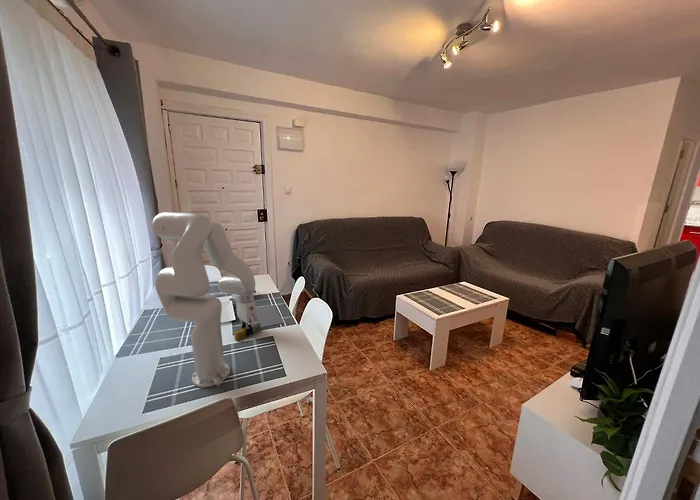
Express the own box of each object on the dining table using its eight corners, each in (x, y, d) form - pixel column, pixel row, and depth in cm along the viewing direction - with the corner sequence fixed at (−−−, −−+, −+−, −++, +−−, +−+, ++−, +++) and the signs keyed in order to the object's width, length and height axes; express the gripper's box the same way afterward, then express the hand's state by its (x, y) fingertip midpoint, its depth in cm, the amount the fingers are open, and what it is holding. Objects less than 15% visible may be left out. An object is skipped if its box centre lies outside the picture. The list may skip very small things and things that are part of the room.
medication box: (258, 329, 134) (257, 321, 133) (261, 331, 132) (260, 323, 131) (234, 339, 126) (233, 331, 125) (236, 341, 124) (236, 333, 123)
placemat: (283, 323, 140) (283, 322, 140) (261, 328, 135) (260, 327, 135) (274, 305, 159) (274, 304, 159) (253, 309, 154) (253, 308, 154)
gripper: (262, 299, 122) (264, 337, 126) (243, 289, 132) (246, 324, 137) (246, 305, 116) (249, 344, 121) (227, 294, 127) (231, 330, 131)
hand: (247, 333), depth 129 cm, fingers open, 2 cm apart
